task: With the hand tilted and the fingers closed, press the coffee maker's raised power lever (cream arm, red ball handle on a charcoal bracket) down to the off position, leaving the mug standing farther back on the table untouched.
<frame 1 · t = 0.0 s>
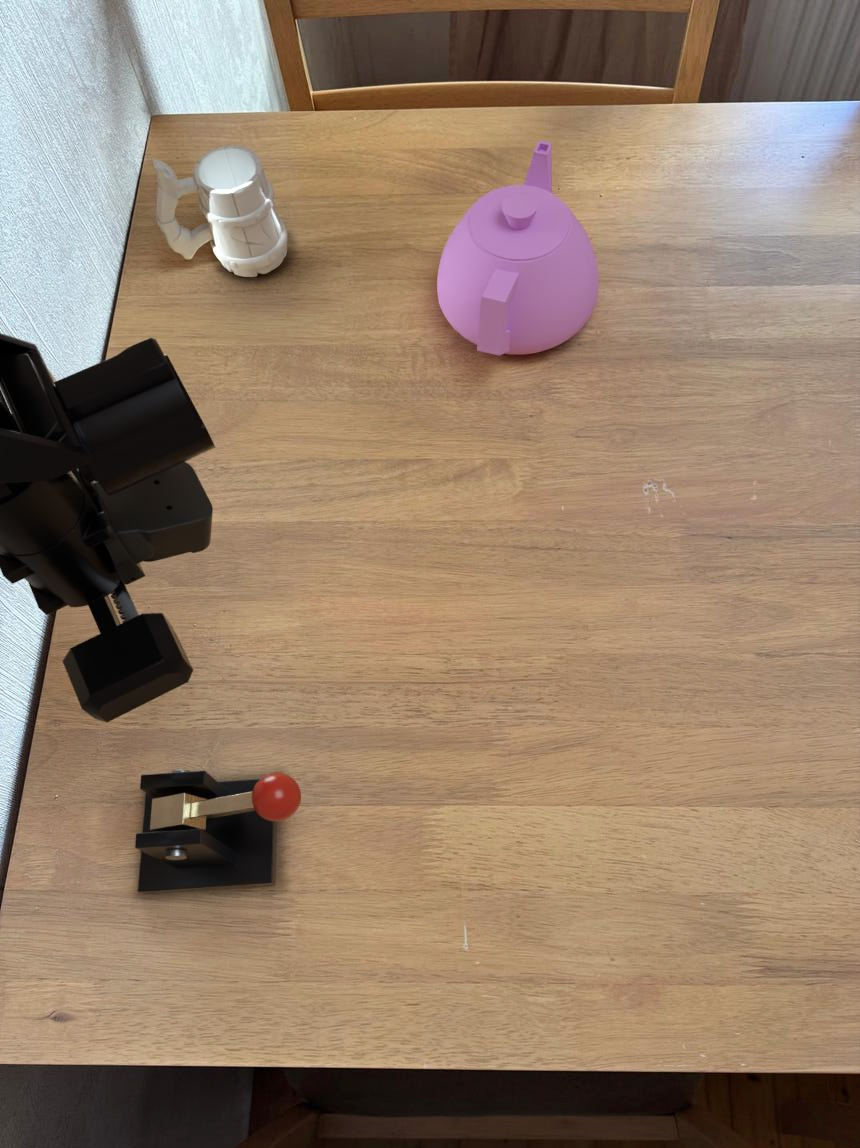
hand: (136, 626, 64), 13 cm above the table, tool pointing down, fingers open, 9 cm apart
mug: (234, 257, 94), on the table
power lever: (227, 805, 62), point 10 cm above the table, hinge at 22.0°
teapot: (517, 304, 91), on the table
switch bracket: (212, 836, 71), on the table
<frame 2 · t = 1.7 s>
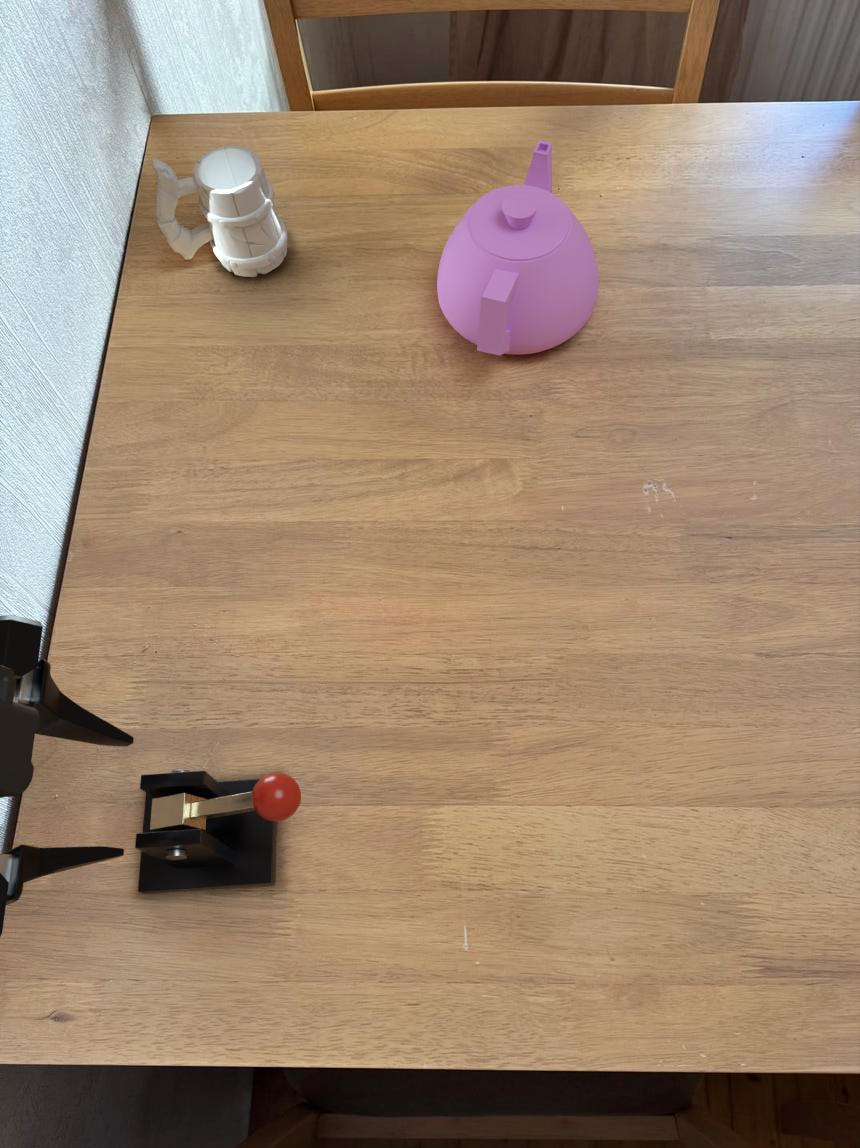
hand: (126, 796, 58), 14 cm above the table, tool tilted 45°, fingers open, 7 cm apart
nothing on the table moved.
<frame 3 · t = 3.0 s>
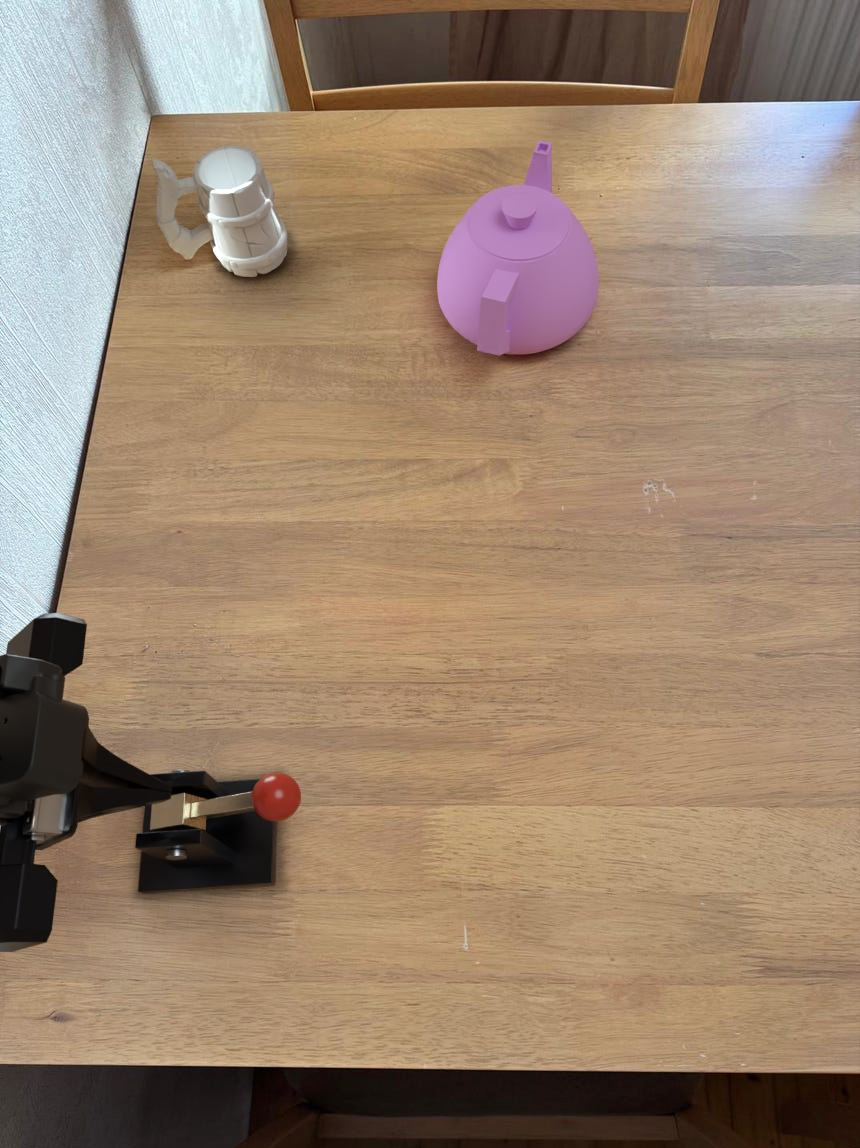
hand: (168, 794, 58), 14 cm above the table, tool tilted 45°, fingers closed
nothing on the table moved.
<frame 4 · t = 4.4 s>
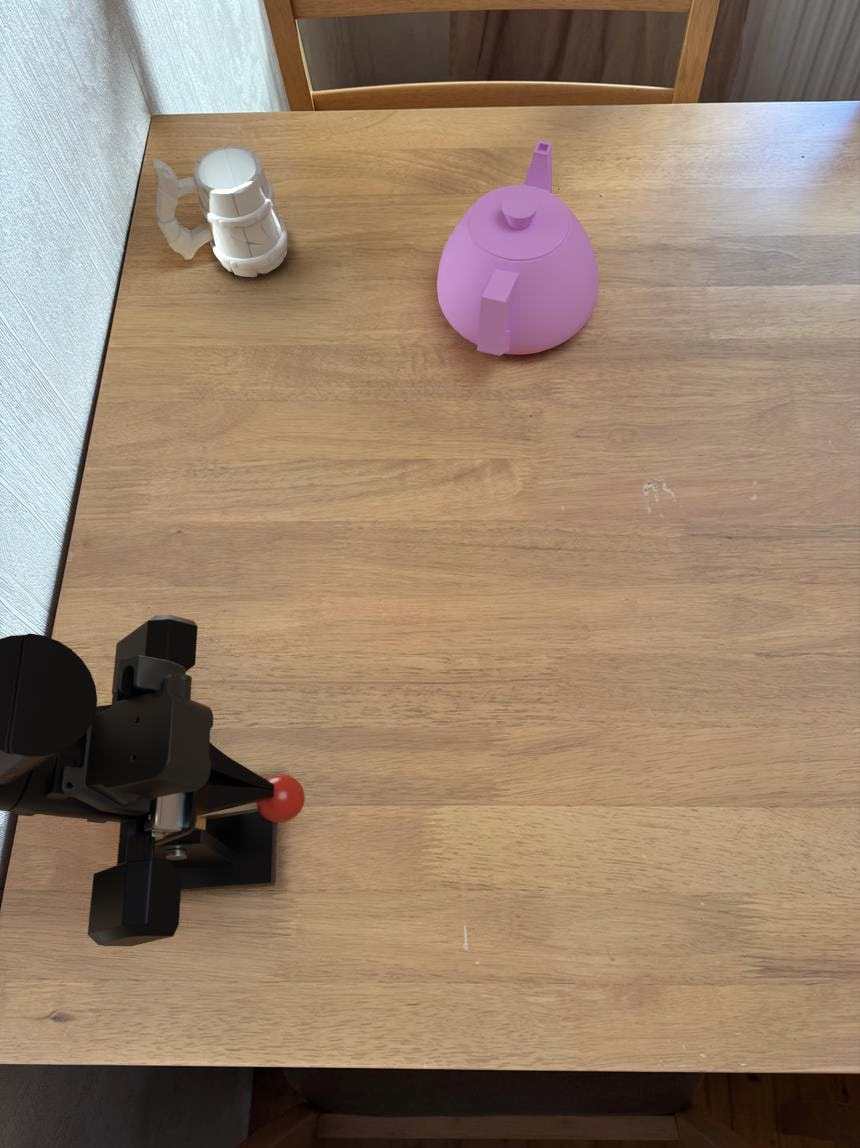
hand: (271, 792, 59), 12 cm above the table, tool tilted 45°, fingers closed, pressing on power lever
power lever: (229, 806, 62), point 9 cm above the table, hinge at 18.7°, touching gripper
everything else where it was.
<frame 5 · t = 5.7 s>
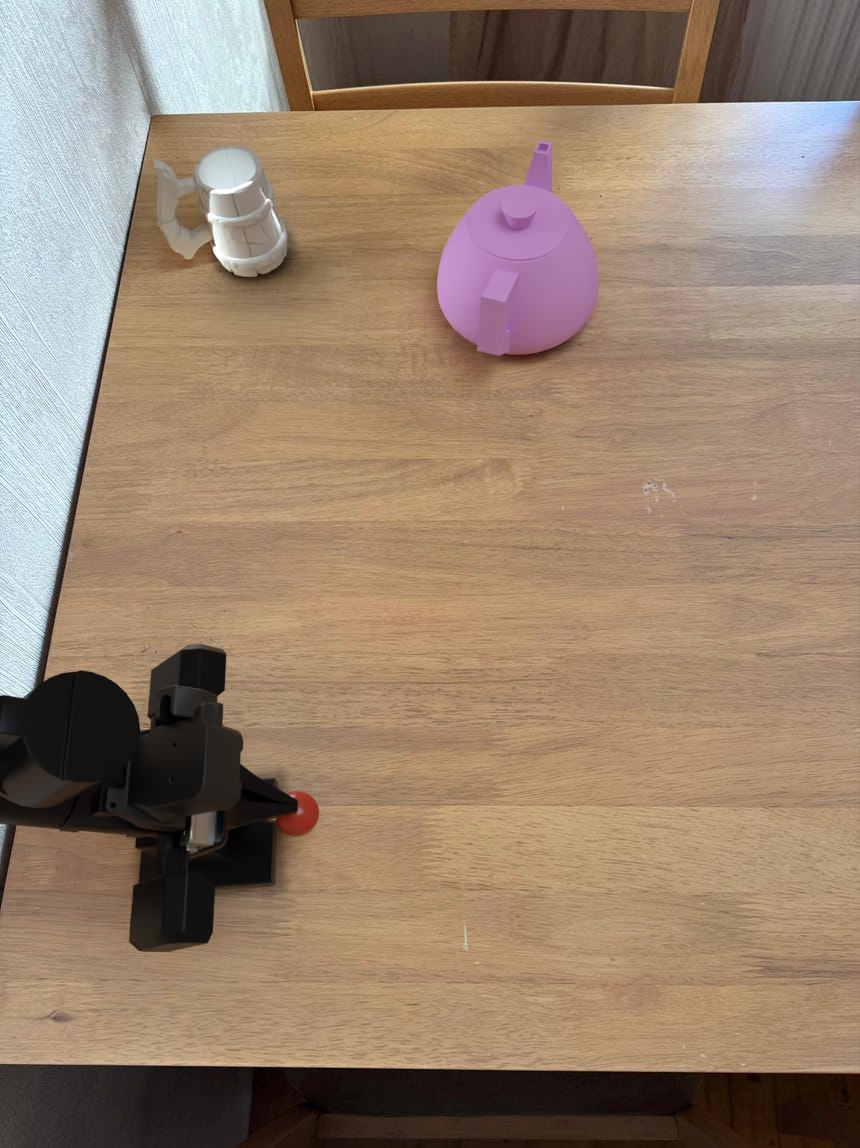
hand: (294, 807, 64), 8 cm above the table, tool tilted 45°, fingers closed, pressing on switch bracket
power lever: (240, 814, 64), point 7 cm above the table, hinge at -15.9°
everything else where it was.
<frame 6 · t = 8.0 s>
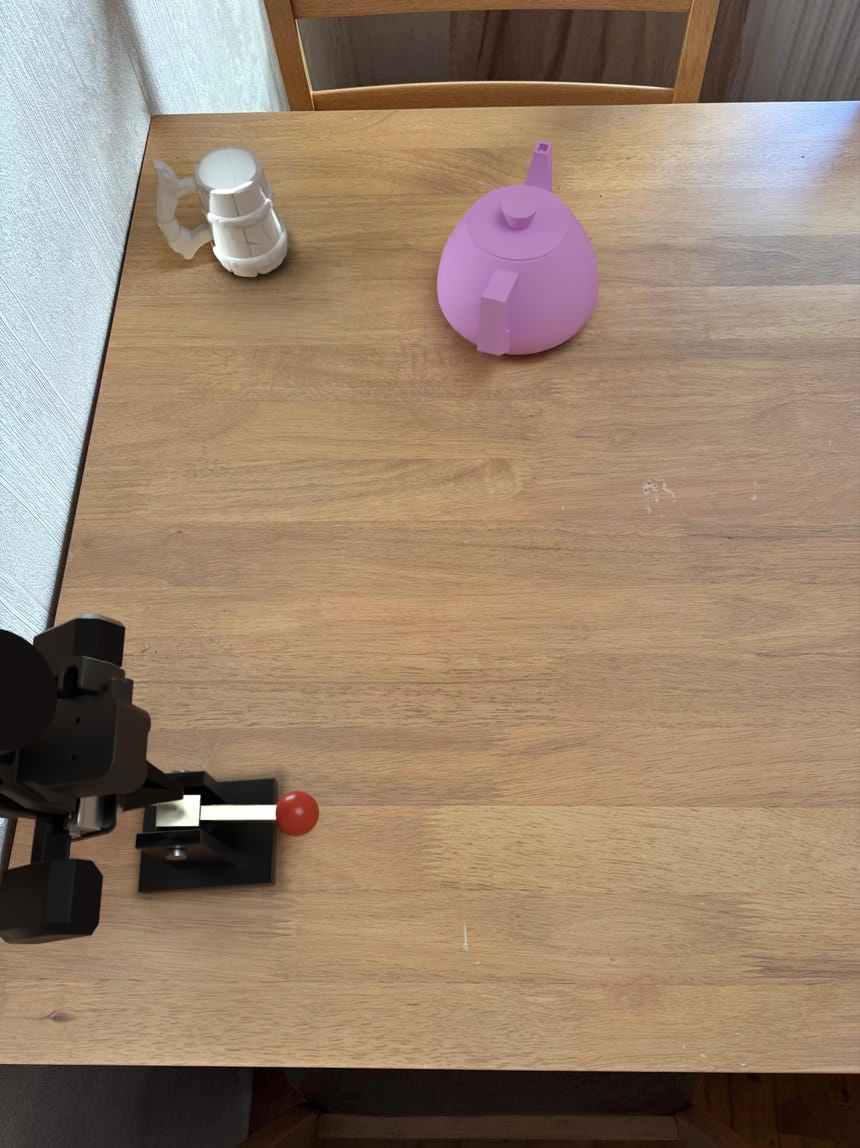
hand: (179, 794, 60), 11 cm above the table, tool tilted 30°, fingers closed
nothing on the table moved.
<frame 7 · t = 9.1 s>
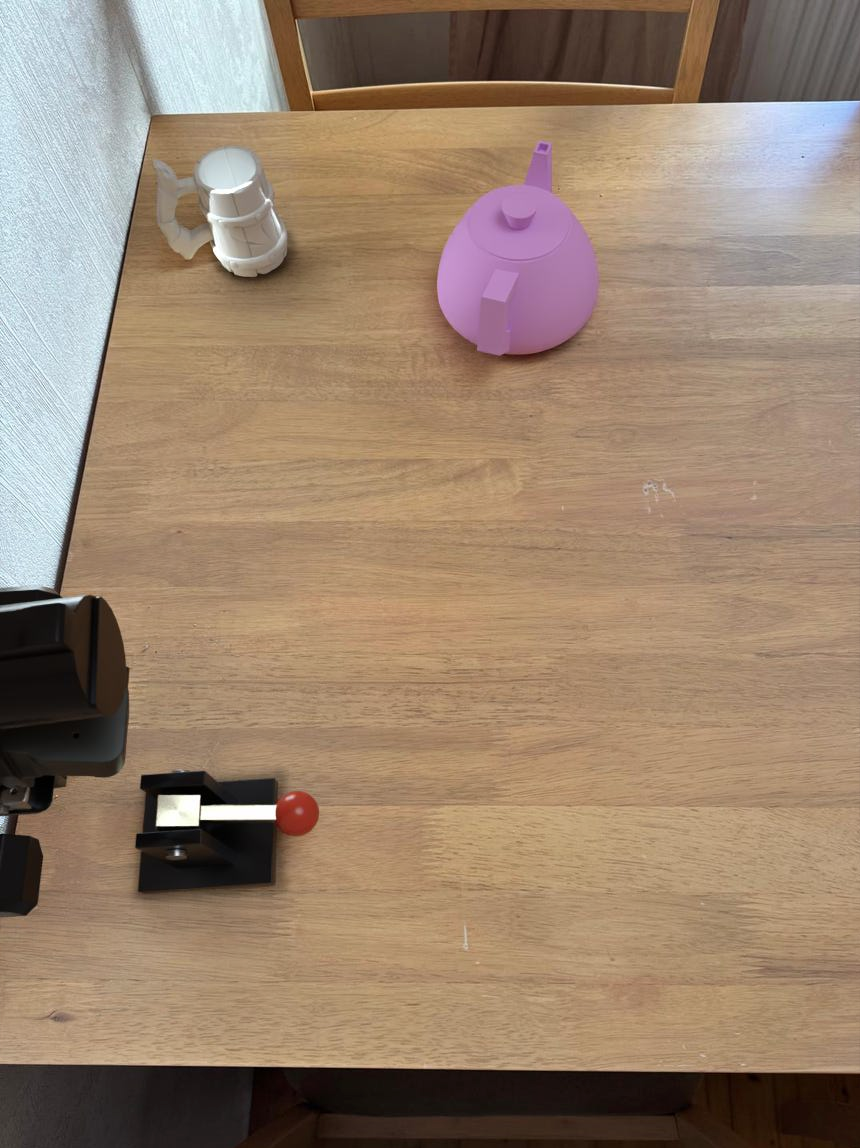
hand: (59, 781, 59), 13 cm above the table, tool pointing down, fingers closed
nothing on the table moved.
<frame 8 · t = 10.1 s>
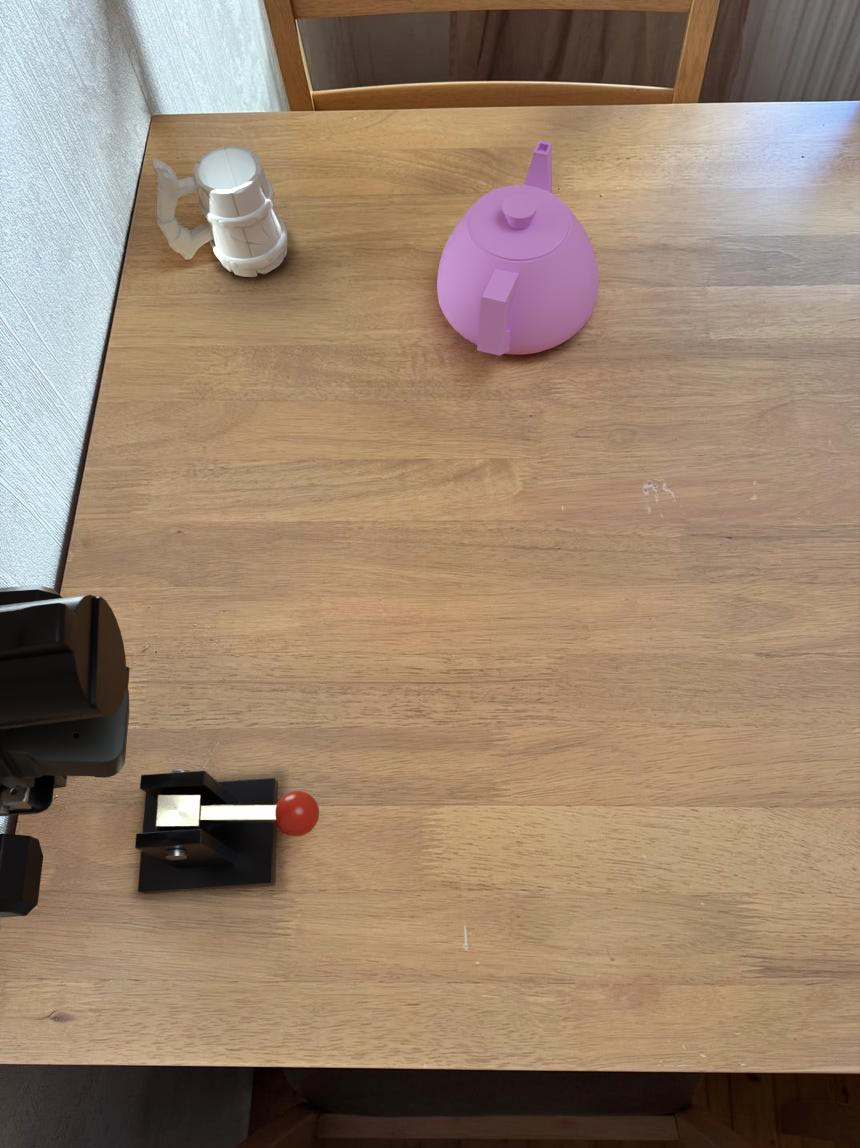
hand: (59, 781, 59), 13 cm above the table, tool pointing down, fingers closed
nothing on the table moved.
at the end: power lever at -16° (first picture: +22°); mug moved 0.2 cm from its start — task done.
